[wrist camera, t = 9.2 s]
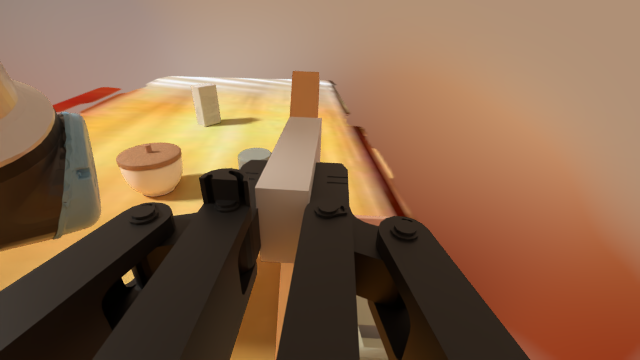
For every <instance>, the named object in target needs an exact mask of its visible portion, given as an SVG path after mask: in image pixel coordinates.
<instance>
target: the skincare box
mask: <svg viewBox="0 0 640 360" xmlns="http://www.w3.org/2000/svg"><path fill="white" fill-rule="evenodd" d="M191 90H192V95H193V100H194V106H195V111H196V116H197V122H198V124H199V125H202V126H204V127H206V126H210V125H213V124H217V123H220V122H221V118H220V111H219V104H218V98H217V91H216V85H215V84H211V83H204V84H198V85H192V86H191Z"/></svg>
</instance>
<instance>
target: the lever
mask: <svg viewBox="0 0 640 360" xmlns="http://www.w3.org/2000/svg"><path fill="white" fill-rule="evenodd" d="M318 102H319V72H300V71H293V75H292V91H291V107H290V117H308V118H318ZM293 267H294V263H281V270H280V286H279V302H278V318H277V335H276V351H275V360H276V358H277V353H278V347H279V342H280V337H281V331H282V326H283V321H284V315H285V310H286V305H287V299H288V294H289V289H290V283H291V278H292V273H293ZM356 299H357V317H358V335H359V354H360V360H389V359H388V357H387V354H386V351H385V349H384V346H383V343H382V341H381V338H380V335H379V333H378V330H377V327H376V325H375V322H374V319H373V317H372V314H371V311H370V309H369V306H368V301H367V299H365V298H362V297H359V296H357V295H356Z"/></svg>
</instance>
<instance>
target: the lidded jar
mask: <svg viewBox="0 0 640 360" xmlns="http://www.w3.org/2000/svg"><path fill="white" fill-rule="evenodd" d="M116 161H117V164H118V166H119V167H120V170H121V173H122V175H123V177H124V179H125V181H126V182H127V183H128V185H129V186H130V187H131V188H133V189H134V190H135V191H137V192H140V193H142V194H143V195H145V196H149V197H156V196H161V195H165V194H168V193H170V192H171V191H173V190H174V189H175V187H176V185H177V184H178V183H179V181H180V179H181V177H182V173H183V163H182V157H181V149H180V148H179V147H178V146H177V145H174V144H170V143H149V144H143V145H138V146H135V147H132V148H129V149H127V150H125V151H123V152H121V153H120V154H119V155H118V156H117V158H116Z"/></svg>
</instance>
